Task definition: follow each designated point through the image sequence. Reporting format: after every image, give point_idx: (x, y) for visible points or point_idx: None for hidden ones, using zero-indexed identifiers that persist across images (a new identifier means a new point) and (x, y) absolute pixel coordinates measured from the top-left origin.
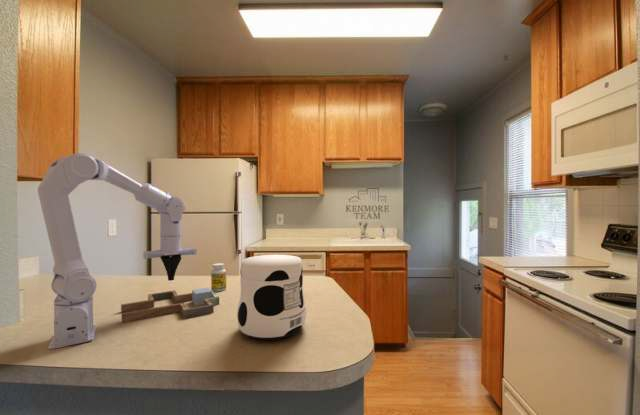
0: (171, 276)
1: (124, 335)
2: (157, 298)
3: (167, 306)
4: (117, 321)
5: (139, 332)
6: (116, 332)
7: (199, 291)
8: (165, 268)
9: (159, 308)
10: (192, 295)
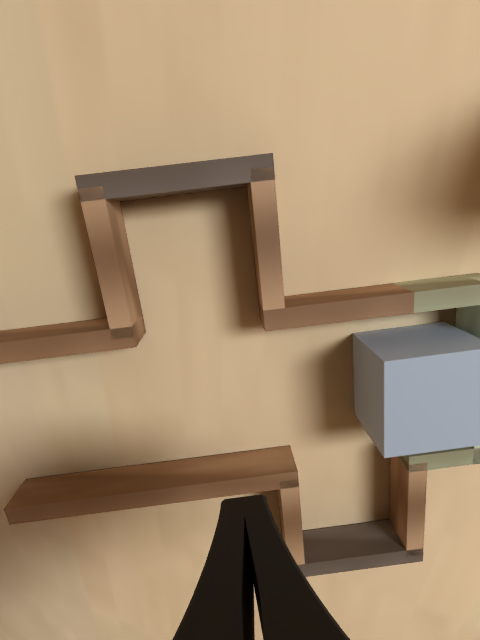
0: (253, 595)
1: (78, 606)
2: (151, 196)
3: (217, 495)
4: (5, 466)
5: (125, 601)
6: (41, 574)
7: (418, 415)
8: (189, 611)
9: (179, 501)
10: (368, 352)
